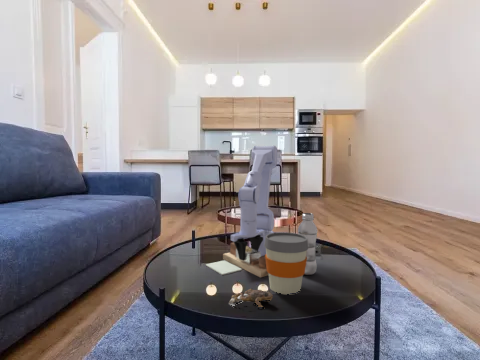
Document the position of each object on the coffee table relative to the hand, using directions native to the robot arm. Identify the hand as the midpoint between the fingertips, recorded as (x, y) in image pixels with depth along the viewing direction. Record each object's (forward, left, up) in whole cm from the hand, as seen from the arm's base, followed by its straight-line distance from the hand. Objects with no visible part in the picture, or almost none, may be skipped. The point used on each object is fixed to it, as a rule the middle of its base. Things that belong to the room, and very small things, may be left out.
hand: (248, 258), depth 103 cm
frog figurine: (+15, +22, -3) cm, 27 cm away
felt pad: (+9, -3, -3) cm, 9 cm away
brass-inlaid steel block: (0, 0, -1) cm, 1 cm away
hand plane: (0, 0, -3) cm, 3 cm away
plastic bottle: (-11, +17, -3) cm, 21 cm away
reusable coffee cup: (+3, +21, -3) cm, 21 cm away
